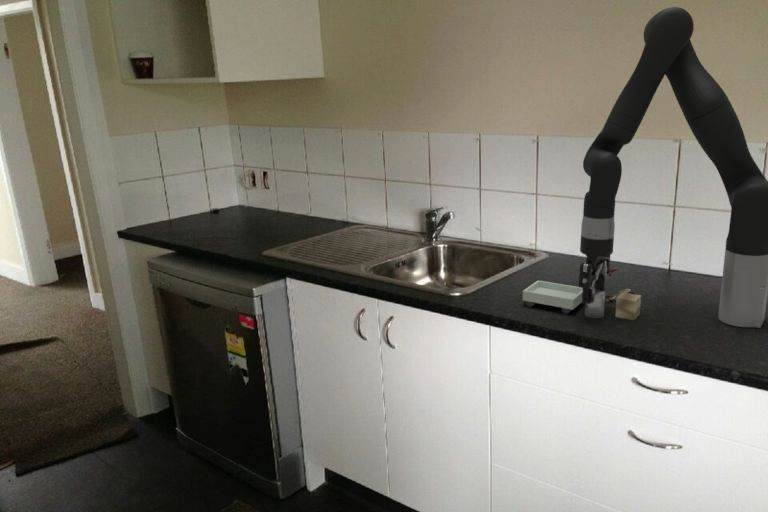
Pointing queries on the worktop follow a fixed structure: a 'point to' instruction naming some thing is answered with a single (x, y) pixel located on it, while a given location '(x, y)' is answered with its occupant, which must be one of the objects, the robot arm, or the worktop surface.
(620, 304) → the brass block
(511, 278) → the worktop surface
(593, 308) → the steel cylinder
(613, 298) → the fantasy weapon
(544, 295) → the footed soap dish
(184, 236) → the worktop surface
